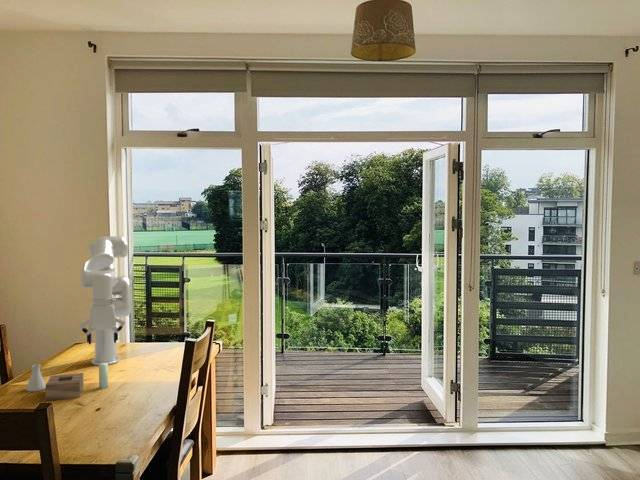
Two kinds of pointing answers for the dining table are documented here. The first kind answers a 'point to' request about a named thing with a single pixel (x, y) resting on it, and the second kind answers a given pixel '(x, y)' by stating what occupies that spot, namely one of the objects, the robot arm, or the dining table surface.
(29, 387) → the flask
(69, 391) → the socket block
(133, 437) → the dining table surface
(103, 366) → the peg
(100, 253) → the robot arm
